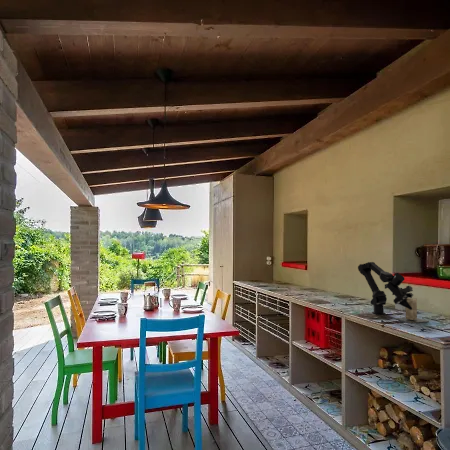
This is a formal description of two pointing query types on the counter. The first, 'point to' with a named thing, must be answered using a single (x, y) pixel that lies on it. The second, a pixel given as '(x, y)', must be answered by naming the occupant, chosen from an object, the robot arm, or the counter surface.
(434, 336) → the counter surface
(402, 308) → the supplement box
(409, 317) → the birch post
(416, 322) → the post plate
